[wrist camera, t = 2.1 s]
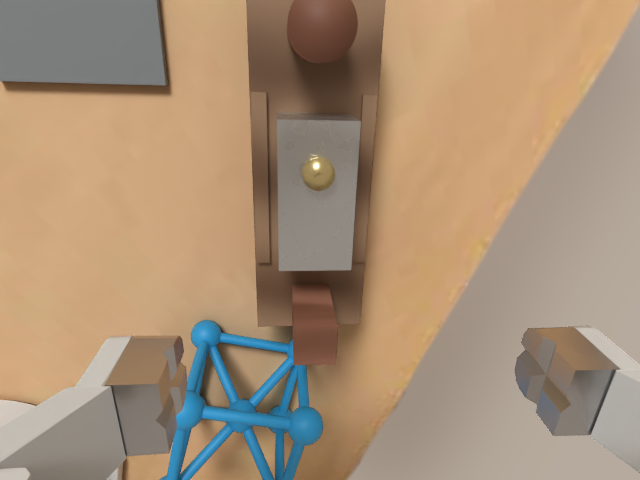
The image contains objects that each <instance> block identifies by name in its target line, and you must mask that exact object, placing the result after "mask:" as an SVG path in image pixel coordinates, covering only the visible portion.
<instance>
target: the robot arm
mask: <svg viewBox="0 0 640 480" xmlns="http://www.w3.org/2000/svg"><path fill="white" fill-rule="evenodd" d="M521 343H522V345H523V346H524V348H525V351H524V352H523V353H522V354H521V355H520V356H519V357H518V358H517V361H516V366H515V375H516V381H517V384H518V386H519V389H520V390H521V392H522V393H523V395H524V396H525V397H526V398H527V399H529V400H530V401H532V402H534V403H536V404H537V409H536V413H537V414H538V416H539V417H540V418H541V420H542V421H543V422H544V424H545V425H546V426H547V428H548V429H549V431H550V432H551V433H552V435H553V436H563V435H564V436H565V435H566V436H569V435H591V436H590V437H591V438H592V439H593V440H595V441H596V442H598V443H599V444H600V445H602V446H603V447H604V448H606V449H607V450H609V451H610V452H612V453H613V454H614V455H616V456H617V457H618V458H620V459H621V460H623V461H624V462H625V463H627V464H628V465H630V466H631V467H632V468H634V469H635V470H636V471H638V472H639V473H640V365H639V364H638V363H637V362H635V361H634V360H633V359H632V358H631V357H630V356H629V355H627V354H626V353H625V352H624V351H623V350H621V349H620V348H619V347H618V346H617V345H615V344H614V343H613V342H612V341H611V340H609V339H608V338H607V337H606V336H605V335H604V334H602V333H601V332H600V331H599V330H597V329H596V328H594V327H591V326H589V325H587V326H569V327H558V328H557V327H556V328H528V329H527V331H526V332H525V333H524V335H523V338H522V342H521ZM183 352H184V349H183V342H182V338H181V337H180V336H111V337H109V338H107V339H106V340H105V342H104V343H103V345H102V346H101V348H100V349H99V351H98V352H97V354H96V355H95V357H94V358H93V360H92V362H91V363H90V365H89V366H88V368H87V369H86V371H85V372H84V374H83V375H82V377H81V378H80V380H79V381H78V383H77V384H76V386H75V387H68V388H65V389H64V390H62V391H60V392H59V393H57V394H55V395H54V396H52V397H50V398H49V399H47V400H45V401H44V402H42V403H41V404H39V405H37V406H35V405H31V404H27V403H22V402H16V401H8V400H0V480H122V472H123V462H124V461H125V460H126V456H137V455H150V454H164V453H169V452H170V449H171V446H172V442H173V439H174V436H175V433H176V429H177V421H176V415H177V414H178V413H180V412H181V411H182V409H183V406H184V402H185V397H186V390H187V373H186V367H185V366H184V365H183V364H182V363H181V362H180V361H181V358H182V355H183Z"/></svg>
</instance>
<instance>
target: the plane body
mask: <svg viewBox="0 0 640 480" xmlns="http://www.w3.org/2000/svg"><path fill="white" fill-rule="evenodd" d="M385 1H386V0H246V4H247V32H248V60H249V88H250V116H251V145H252V173H253V201H254V229H255V257H256V286H257V314H258V327H263V326H292V331H293V360H294V365H322V364H336V354H337V336H338V327H337V325H349V324H360V317H361V304H362V292H363V279H364V266H365V254H366V241H367V228H368V216H369V203H370V191H371V178H372V165H373V153H374V140H375V127H376V115H377V102H378V89H379V77H380V64H381V51H382V39H383V26H384V14H385ZM278 112H308V113H350V114H352V115H353V116H354V117H356V118H357V119H359V120H360V121H361V128H360V143H359V159H358V174H357V189H356V205H355V220H354V235H353V251H352V266H351V270H326V271H279V249H278V161H277V115H278Z"/></svg>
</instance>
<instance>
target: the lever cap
mask: <svg viewBox="0 0 640 480" xmlns="http://www.w3.org/2000/svg"><path fill="white" fill-rule="evenodd" d="M360 128H361V121H360V120H359V119H357V118H356V117H354V116H353V115H352V114H350V113H308V112H278V115H277V161H278V249H279V271H326V270H351V266H352V251H353V235H354V220H355V205H356V189H357V174H358V159H359V143H360Z"/></svg>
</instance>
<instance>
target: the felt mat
mask: <svg viewBox="0 0 640 480" xmlns="http://www.w3.org/2000/svg"><path fill="white" fill-rule="evenodd" d="M0 81H16V82H53V83H91V84H128V85H168V78H167V69H166V60H165V50H164V41H163V32H162V22H161V13H160V4H159V0H0Z"/></svg>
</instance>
